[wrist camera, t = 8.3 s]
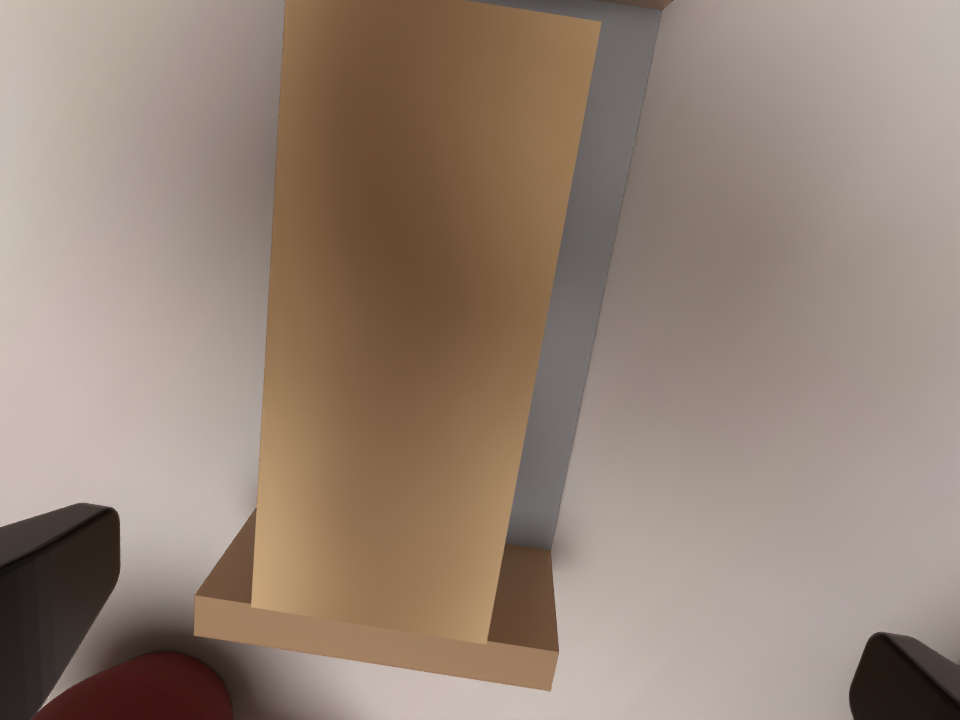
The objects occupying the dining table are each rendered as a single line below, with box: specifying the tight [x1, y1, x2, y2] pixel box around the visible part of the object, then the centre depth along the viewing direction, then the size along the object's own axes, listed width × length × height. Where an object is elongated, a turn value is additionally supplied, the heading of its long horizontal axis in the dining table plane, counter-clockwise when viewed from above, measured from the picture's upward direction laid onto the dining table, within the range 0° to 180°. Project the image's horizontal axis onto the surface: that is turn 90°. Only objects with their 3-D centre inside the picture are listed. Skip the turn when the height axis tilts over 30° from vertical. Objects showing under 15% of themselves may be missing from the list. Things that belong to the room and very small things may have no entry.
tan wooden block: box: [251, 0, 602, 644], centre depth 15 cm, size 5×12×4 cm, turn 172°
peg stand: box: [194, 0, 673, 691], centre depth 17 cm, size 9×17×5 cm, turn 172°
